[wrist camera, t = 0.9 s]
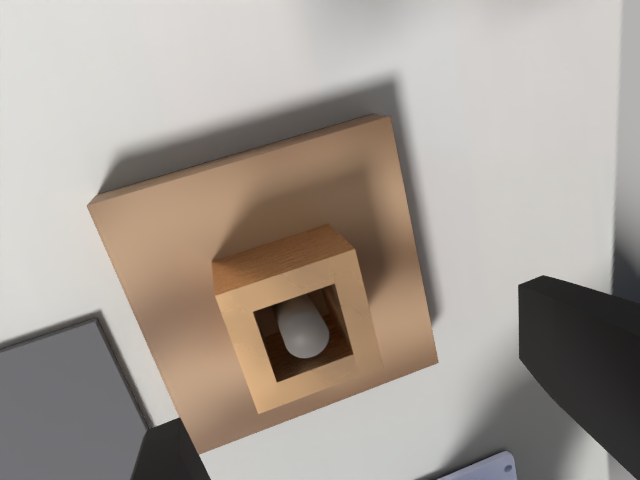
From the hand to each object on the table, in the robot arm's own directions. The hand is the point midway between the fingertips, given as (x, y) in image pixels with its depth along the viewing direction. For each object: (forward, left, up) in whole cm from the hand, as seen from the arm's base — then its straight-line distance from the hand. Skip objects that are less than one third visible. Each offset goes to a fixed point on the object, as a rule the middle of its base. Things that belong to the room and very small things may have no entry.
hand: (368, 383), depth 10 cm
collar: (-3, 0, -11) cm, 11 cm away
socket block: (-3, 0, -13) cm, 13 cm away
